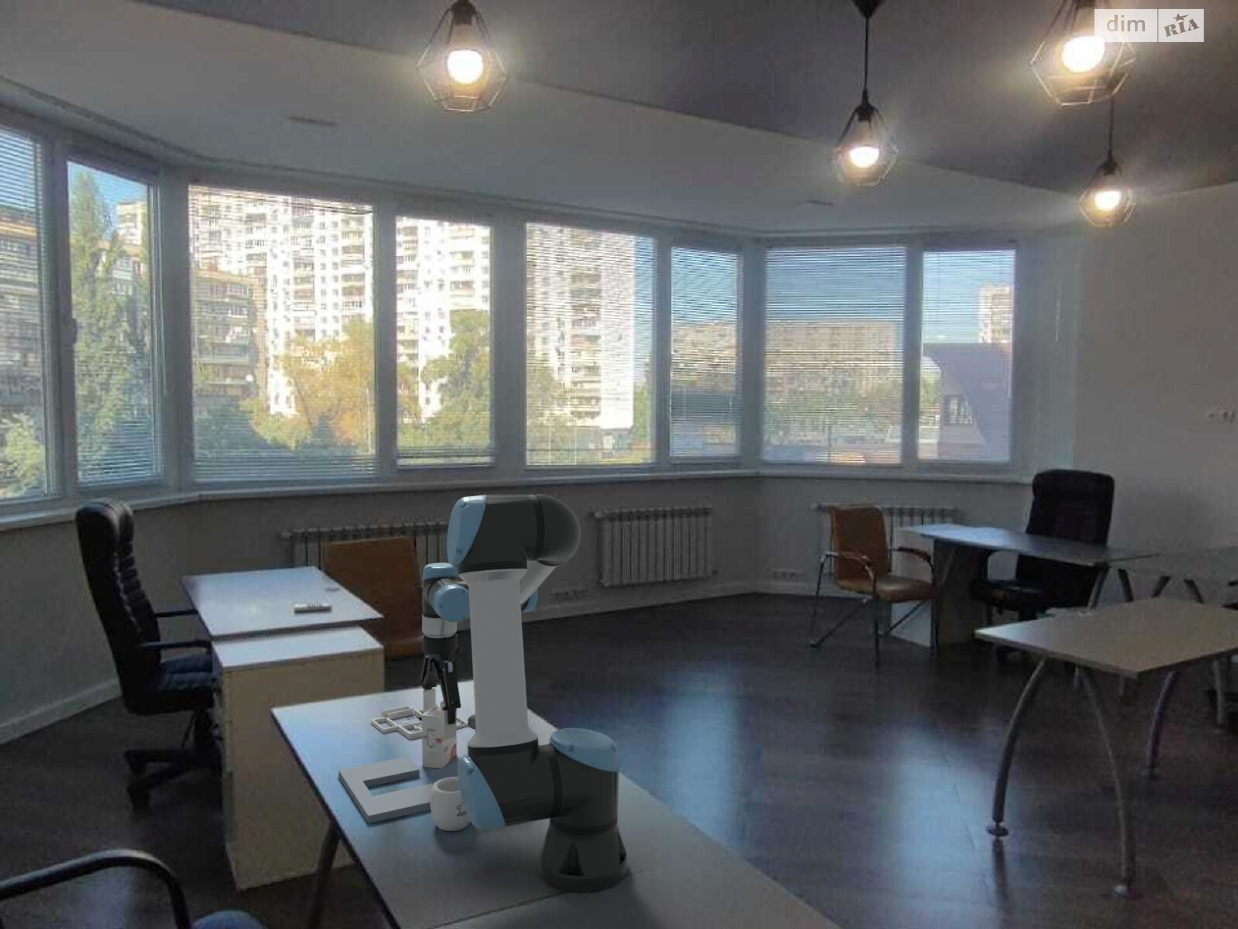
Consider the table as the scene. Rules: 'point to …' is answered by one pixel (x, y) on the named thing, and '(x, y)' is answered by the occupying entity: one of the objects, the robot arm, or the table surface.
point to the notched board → (389, 802)
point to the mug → (448, 805)
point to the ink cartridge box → (436, 739)
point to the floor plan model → (403, 728)
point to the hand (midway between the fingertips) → (439, 727)
